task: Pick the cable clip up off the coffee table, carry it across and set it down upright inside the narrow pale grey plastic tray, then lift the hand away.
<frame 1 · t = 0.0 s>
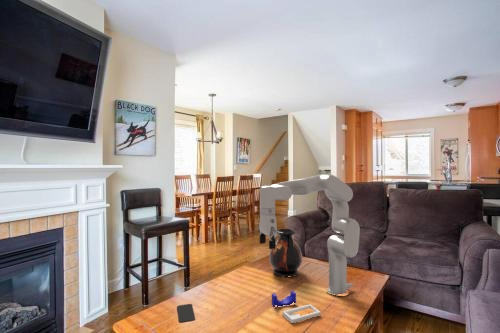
hand: (267, 245, 137), 31 cm above the table, tool pointing down, fingers open, 9 cm apart
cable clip: (283, 304, 142), on the table
phone: (185, 314, 133), on the table
tray: (301, 315, 131), on the table
amphora vase: (285, 273, 183), on the table
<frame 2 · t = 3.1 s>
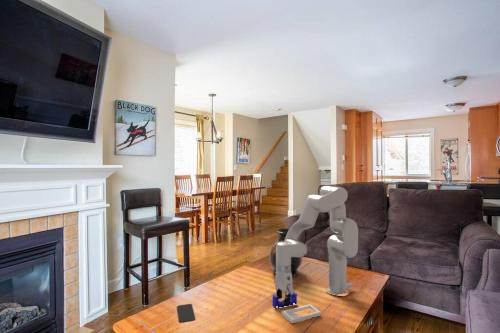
hand: (283, 301, 142), 1 cm above the table, tool pointing down, fingers open, 6 cm apart
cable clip: (284, 305, 141), on the table, touching gripper
everything else where it was.
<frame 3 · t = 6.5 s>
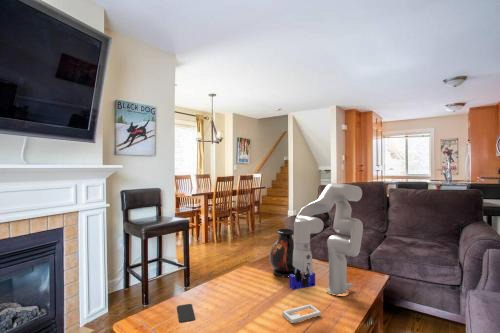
hand: (301, 283, 131), 15 cm above the table, tool pointing down, fingers closed on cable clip, 4 cm apart
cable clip: (301, 286, 131), point 14 cm above the table, touching gripper
everything else where it was.
when the fingers open (3 cm above the table, at t = 9.5 s): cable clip drops 1 cm, resting on tray.
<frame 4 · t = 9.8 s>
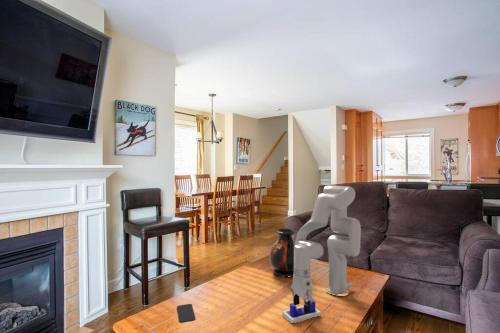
hand: (301, 308, 131), 3 cm above the table, tool pointing down, fingers open, 7 cm apart
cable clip: (301, 315, 131), resting on tray
everything else where it was.
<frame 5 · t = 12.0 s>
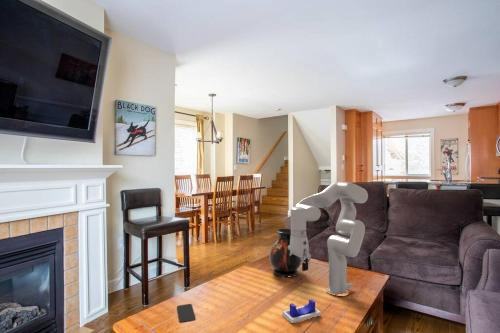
hand: (299, 267, 137), 21 cm above the table, tool pointing down, fingers open, 9 cm apart
nothing on the table moved.
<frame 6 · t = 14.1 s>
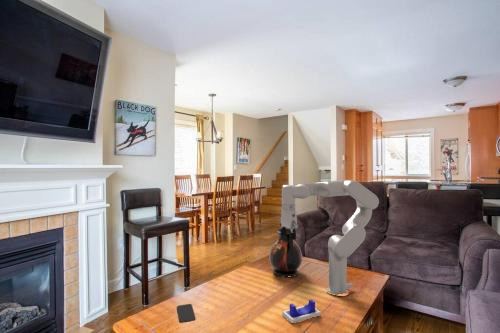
hand: (288, 237, 156), 30 cm above the table, tool pointing down, fingers open, 9 cm apart
nothing on the table moved.
at the end: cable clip 0.4 cm off-centre on the tray, point 0.3 cm above the tray's base; the gripper is holding nothing; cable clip tilted 0° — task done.
